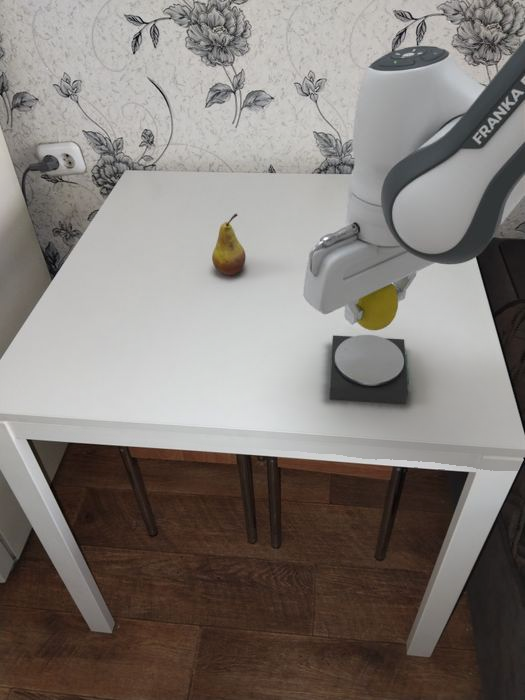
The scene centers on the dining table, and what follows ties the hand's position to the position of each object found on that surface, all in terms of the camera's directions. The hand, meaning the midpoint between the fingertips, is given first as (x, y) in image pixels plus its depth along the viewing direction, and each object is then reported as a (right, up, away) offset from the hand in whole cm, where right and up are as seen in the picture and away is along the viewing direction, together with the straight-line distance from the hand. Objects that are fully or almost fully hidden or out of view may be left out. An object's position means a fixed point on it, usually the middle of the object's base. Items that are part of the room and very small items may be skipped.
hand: (375, 308), depth 73 cm
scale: (0, -9, +8) cm, 12 cm away
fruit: (-20, +8, +27) cm, 34 cm away
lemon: (0, -2, +2) cm, 4 cm away
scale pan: (0, -7, +7) cm, 9 cm away
